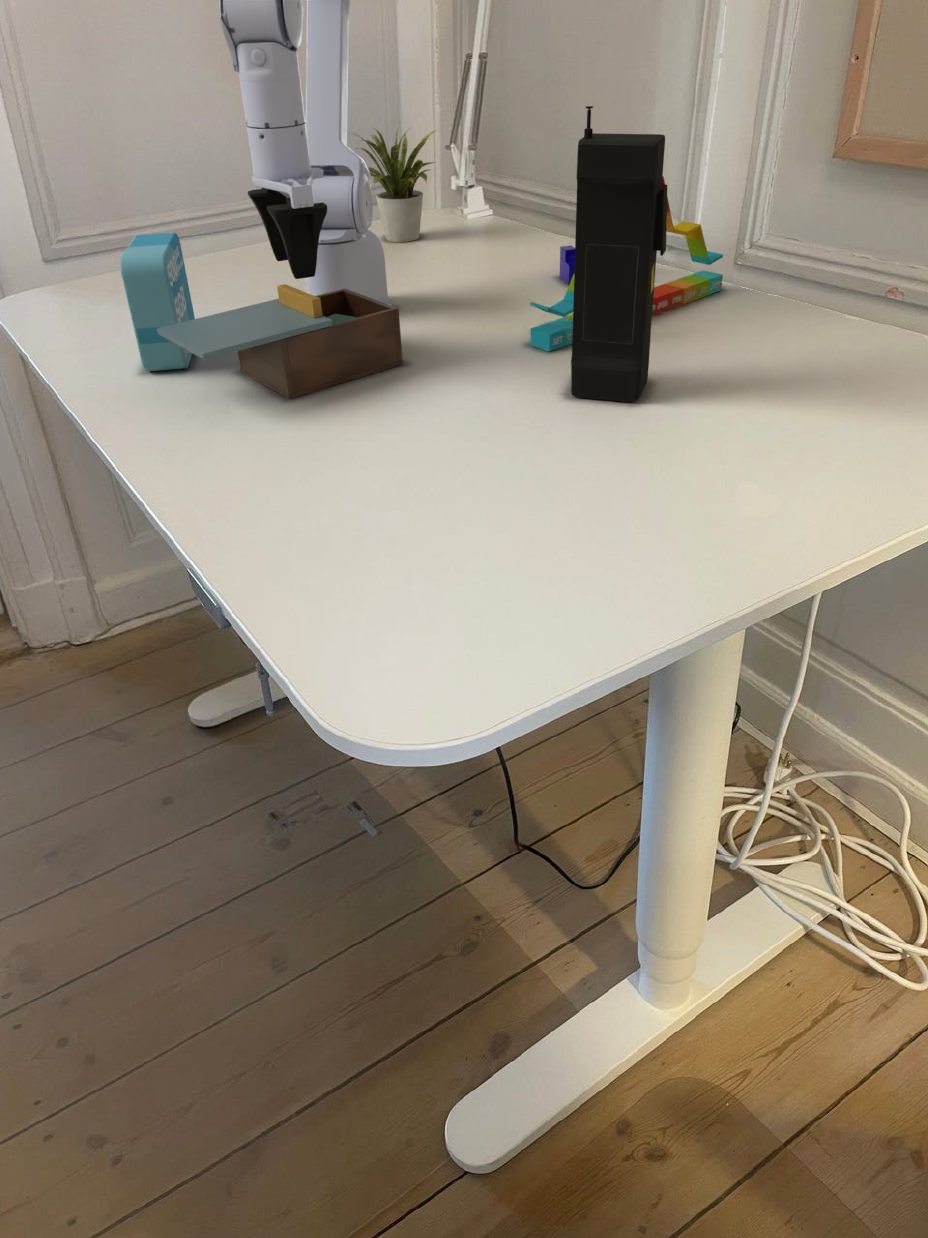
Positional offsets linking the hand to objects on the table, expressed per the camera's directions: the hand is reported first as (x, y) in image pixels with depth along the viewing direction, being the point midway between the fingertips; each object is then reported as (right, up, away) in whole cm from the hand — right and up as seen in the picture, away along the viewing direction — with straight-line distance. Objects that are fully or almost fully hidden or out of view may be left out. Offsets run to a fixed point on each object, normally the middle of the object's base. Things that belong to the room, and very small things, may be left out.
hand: (295, 267), depth 101 cm
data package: (-15, -7, +7) cm, 18 cm away
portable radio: (+33, -14, -6) cm, 36 cm away
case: (+3, -10, +2) cm, 11 cm away
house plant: (+7, +22, +47) cm, 52 cm away
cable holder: (+35, +8, +26) cm, 44 cm away
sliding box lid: (-4, -8, -6) cm, 11 cm away
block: (+5, -9, +3) cm, 10 cm away
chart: (+38, -1, +12) cm, 40 cm away
